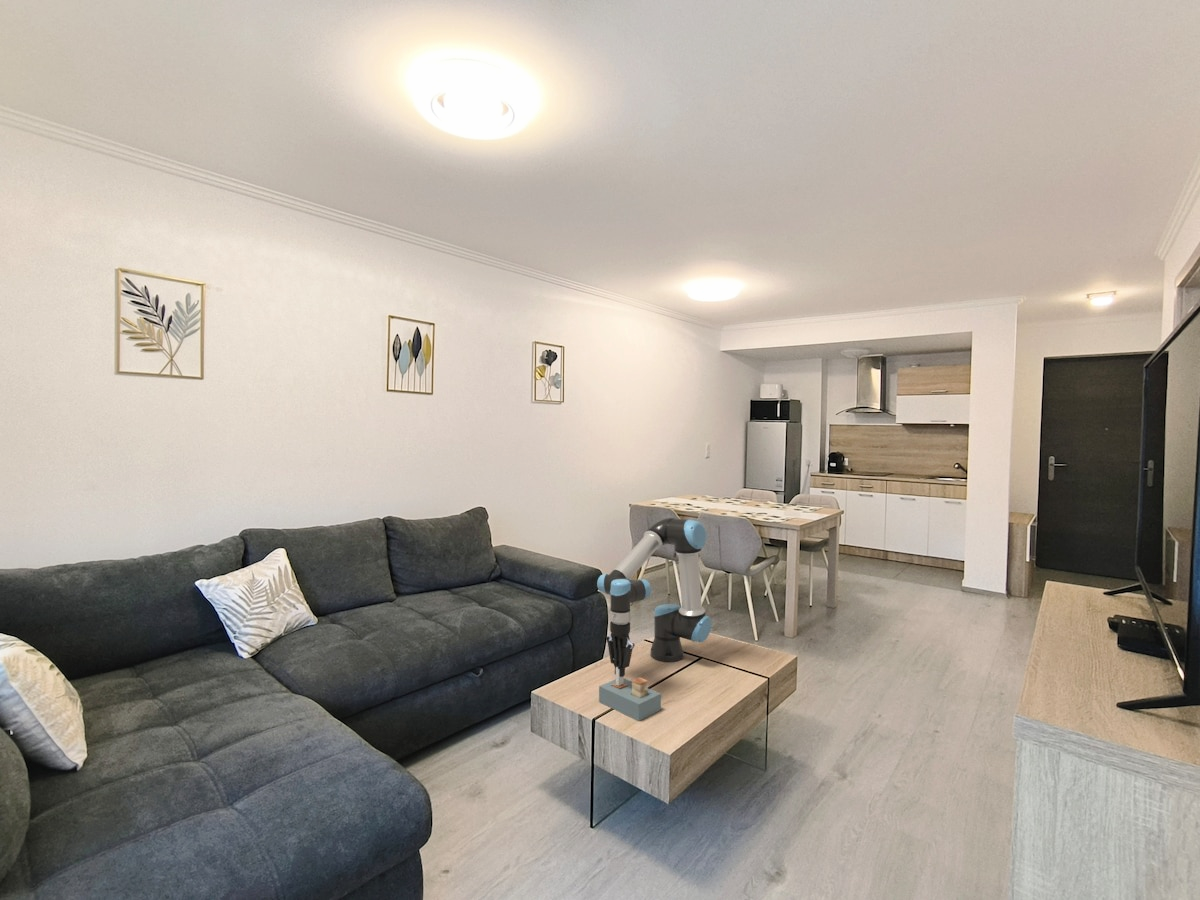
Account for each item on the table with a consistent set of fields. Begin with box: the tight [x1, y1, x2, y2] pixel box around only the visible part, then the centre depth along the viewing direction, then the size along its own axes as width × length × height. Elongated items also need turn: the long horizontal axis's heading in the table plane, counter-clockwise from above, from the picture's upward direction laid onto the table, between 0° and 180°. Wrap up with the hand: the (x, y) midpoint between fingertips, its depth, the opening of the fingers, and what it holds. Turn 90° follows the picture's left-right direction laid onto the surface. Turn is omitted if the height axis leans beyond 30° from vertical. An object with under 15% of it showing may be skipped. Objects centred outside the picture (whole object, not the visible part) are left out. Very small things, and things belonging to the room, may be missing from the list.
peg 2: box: [631, 676, 649, 698], centre depth 203 cm, size 4×4×6 cm
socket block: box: [598, 678, 662, 722], centre depth 207 cm, size 12×20×6 cm, turn 44°
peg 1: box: [612, 683, 627, 689], centre depth 211 cm, size 4×4×6 cm
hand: (619, 684), depth 211 cm, fingers closed
